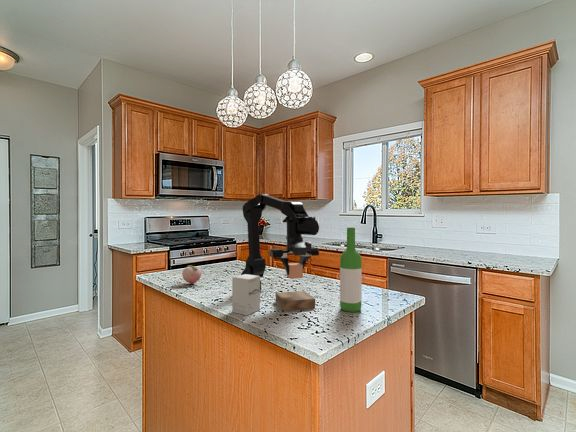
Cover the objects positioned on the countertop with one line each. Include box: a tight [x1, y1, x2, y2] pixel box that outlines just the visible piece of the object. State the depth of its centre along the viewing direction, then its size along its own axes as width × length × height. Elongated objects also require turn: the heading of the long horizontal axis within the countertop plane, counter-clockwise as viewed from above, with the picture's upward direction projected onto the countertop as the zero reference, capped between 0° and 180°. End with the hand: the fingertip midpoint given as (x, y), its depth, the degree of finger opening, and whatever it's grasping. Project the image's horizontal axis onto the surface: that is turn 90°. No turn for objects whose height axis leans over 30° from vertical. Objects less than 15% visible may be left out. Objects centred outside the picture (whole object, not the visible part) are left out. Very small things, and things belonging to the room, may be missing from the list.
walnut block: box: [275, 290, 316, 312], centre depth 123 cm, size 12×12×4 cm
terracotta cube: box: [286, 262, 304, 280], centre depth 124 cm, size 5×5×5 cm
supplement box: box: [231, 274, 261, 316], centre depth 115 cm, size 7×7×13 cm
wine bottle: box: [339, 227, 363, 313], centre depth 117 cm, size 8×8×30 cm
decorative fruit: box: [181, 264, 203, 285], centre depth 156 cm, size 9×8×10 cm
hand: (294, 274), depth 124 cm, fingers closed on terracotta cube, 5 cm apart
